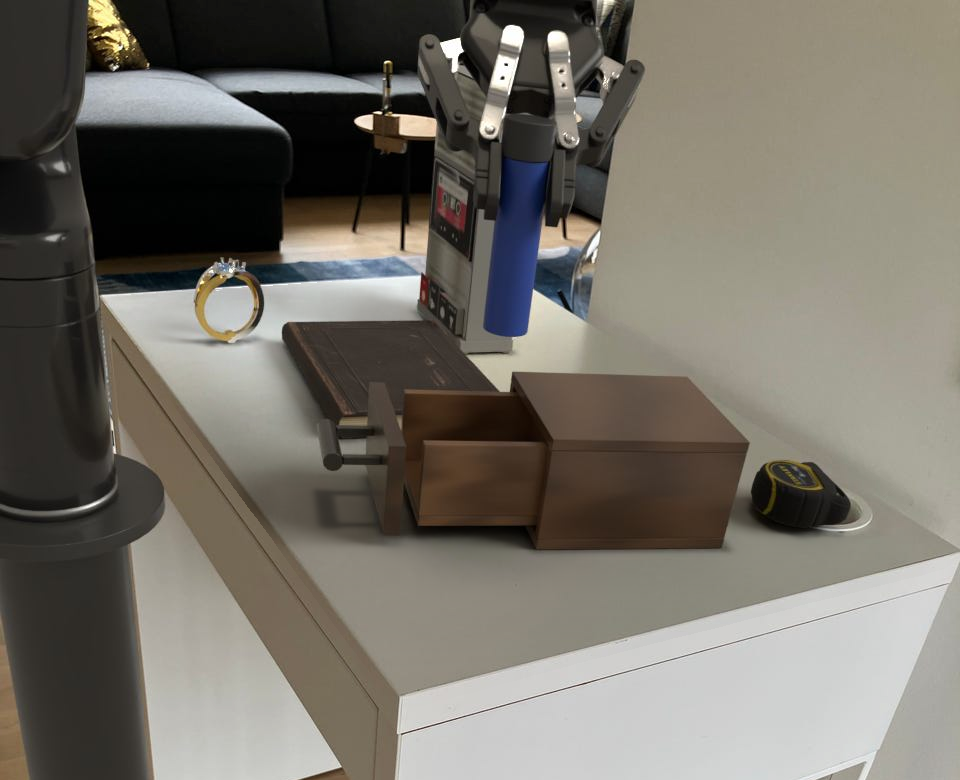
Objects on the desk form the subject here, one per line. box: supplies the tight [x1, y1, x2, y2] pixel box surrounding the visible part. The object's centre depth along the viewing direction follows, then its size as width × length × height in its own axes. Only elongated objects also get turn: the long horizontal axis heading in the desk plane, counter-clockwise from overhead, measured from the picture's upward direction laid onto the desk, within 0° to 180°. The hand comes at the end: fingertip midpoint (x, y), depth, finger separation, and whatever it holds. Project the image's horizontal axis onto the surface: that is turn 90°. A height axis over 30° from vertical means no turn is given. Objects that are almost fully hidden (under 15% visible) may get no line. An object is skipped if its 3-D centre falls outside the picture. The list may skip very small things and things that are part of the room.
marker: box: [483, 114, 557, 338], centre depth 63 cm, size 3×3×12 cm
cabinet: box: [509, 371, 751, 550], centre depth 82 cm, size 15×13×9 cm
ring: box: [193, 257, 265, 344], centre depth 104 cm, size 7×3×8 cm, turn 120°
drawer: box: [316, 382, 549, 536], centre depth 79 cm, size 18×12×7 cm, turn 101°
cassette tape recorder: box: [416, 64, 531, 355], centre depth 109 cm, size 14×6×25 cm, turn 21°
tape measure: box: [750, 459, 852, 529], centre depth 86 cm, size 7×7×4 cm
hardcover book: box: [281, 319, 501, 440], centre depth 100 cm, size 16×23×2 cm
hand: (523, 214), depth 60 cm, fingers closed on marker, 3 cm apart
